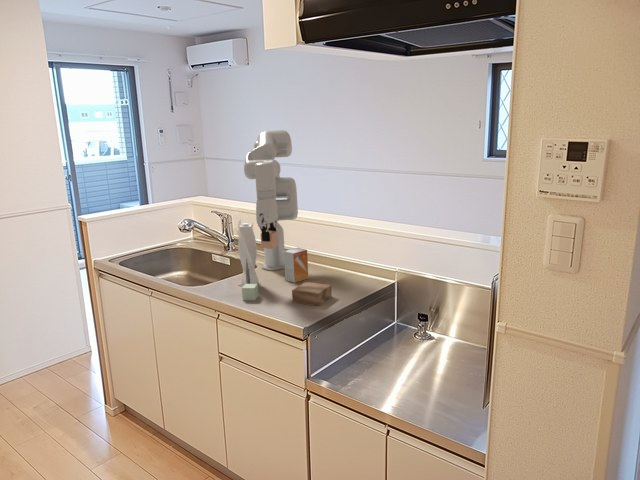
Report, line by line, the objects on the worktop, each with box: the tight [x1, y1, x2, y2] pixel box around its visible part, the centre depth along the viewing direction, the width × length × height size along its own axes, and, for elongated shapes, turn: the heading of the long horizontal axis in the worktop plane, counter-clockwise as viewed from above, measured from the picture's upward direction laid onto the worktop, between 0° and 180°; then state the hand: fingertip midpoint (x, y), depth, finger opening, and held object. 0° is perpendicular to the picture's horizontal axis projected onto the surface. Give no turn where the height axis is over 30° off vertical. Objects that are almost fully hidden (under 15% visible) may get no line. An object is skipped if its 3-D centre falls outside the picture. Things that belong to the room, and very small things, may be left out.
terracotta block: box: [260, 231, 278, 249], centre depth 201 cm, size 5×5×6 cm
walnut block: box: [291, 281, 333, 307], centre depth 192 cm, size 11×11×5 cm
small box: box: [284, 247, 309, 284], centre depth 216 cm, size 8×6×13 cm
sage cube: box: [241, 284, 260, 301], centre depth 196 cm, size 5×5×5 cm
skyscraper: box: [237, 218, 262, 288], centre depth 211 cm, size 8×8×28 cm
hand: (269, 238), depth 201 cm, fingers closed on terracotta block, 5 cm apart
